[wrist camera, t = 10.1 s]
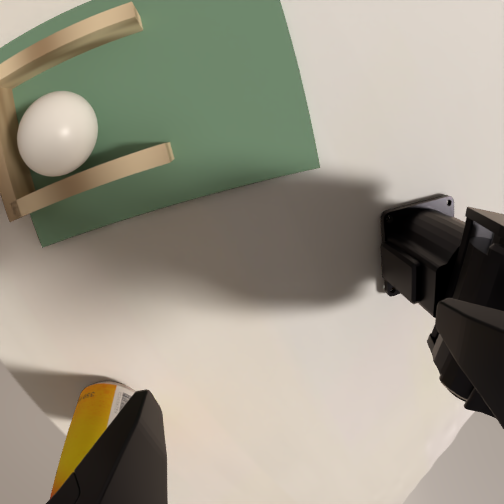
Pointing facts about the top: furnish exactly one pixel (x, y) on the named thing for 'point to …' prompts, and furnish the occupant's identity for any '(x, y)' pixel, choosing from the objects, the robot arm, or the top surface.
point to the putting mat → (177, 106)
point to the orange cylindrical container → (90, 424)
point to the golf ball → (57, 133)
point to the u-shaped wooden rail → (6, 124)
